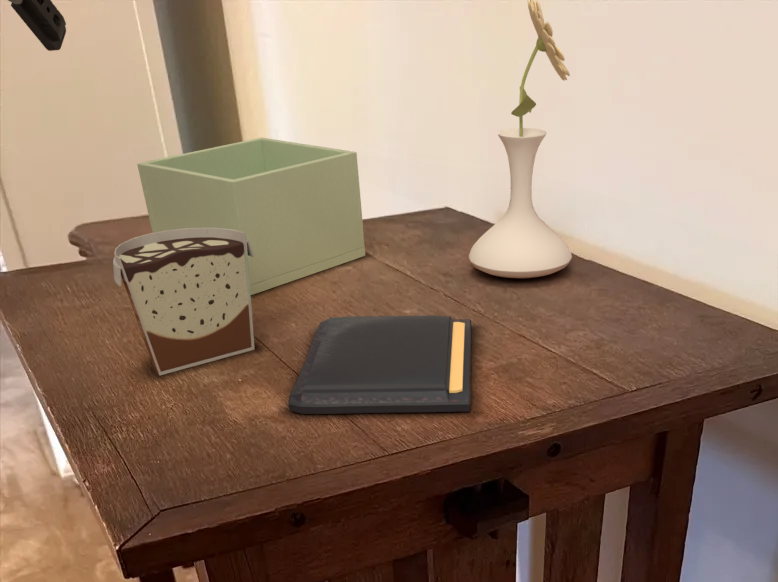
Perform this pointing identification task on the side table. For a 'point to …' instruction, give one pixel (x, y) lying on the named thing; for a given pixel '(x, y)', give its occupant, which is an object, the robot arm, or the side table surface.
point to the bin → (264, 203)
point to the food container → (189, 294)
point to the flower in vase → (524, 190)
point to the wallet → (386, 366)
